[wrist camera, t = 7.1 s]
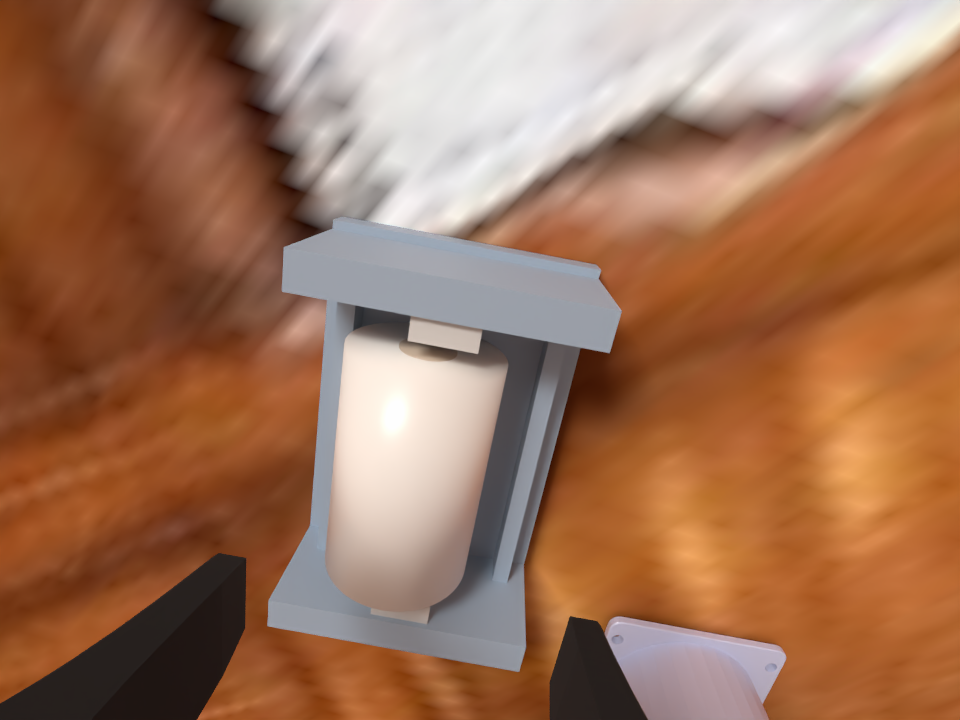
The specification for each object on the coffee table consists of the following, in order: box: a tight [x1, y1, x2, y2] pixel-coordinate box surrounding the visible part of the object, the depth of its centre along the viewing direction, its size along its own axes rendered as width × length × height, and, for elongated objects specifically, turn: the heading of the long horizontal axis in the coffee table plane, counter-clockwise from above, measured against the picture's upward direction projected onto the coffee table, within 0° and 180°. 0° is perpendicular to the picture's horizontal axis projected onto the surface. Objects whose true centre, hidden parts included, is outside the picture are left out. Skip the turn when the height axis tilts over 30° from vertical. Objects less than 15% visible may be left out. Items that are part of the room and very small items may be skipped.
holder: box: [268, 217, 622, 672], centre depth 19 cm, size 14×9×5 cm, turn 170°
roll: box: [325, 322, 508, 612], centre depth 18 cm, size 8×5×5 cm, turn 170°
